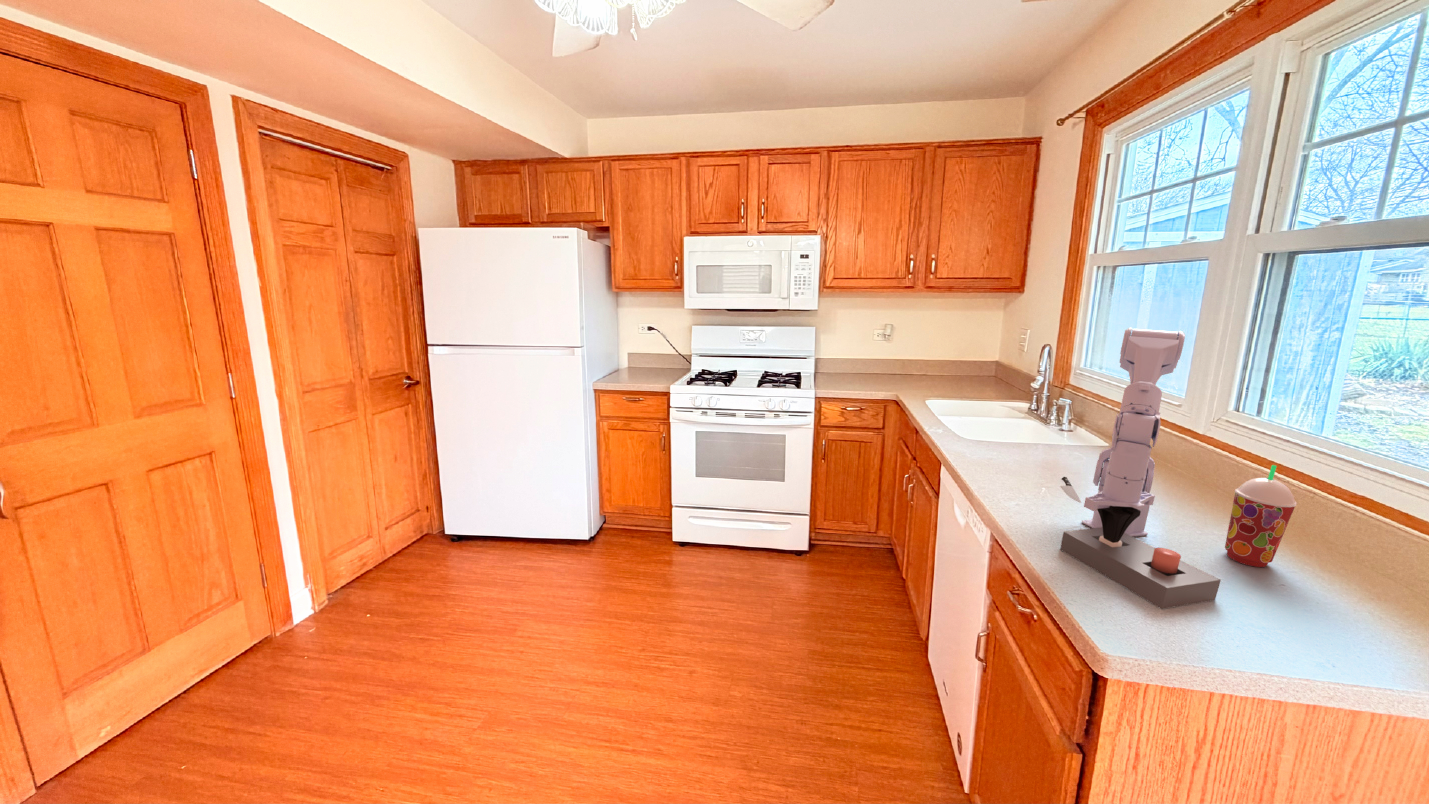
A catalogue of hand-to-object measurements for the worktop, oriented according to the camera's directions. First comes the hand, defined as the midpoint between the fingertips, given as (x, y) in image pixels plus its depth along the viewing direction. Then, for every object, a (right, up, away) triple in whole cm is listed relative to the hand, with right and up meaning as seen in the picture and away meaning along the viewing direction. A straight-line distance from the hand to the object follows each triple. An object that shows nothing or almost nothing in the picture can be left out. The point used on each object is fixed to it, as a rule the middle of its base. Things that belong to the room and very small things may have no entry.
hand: (1110, 540), depth 103 cm
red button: (+2, -2, -9) cm, 10 cm away
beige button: (0, -3, +1) cm, 3 cm away
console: (+1, -5, -4) cm, 6 cm away
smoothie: (+29, -5, +2) cm, 29 cm away
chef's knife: (+15, +3, +35) cm, 38 cm away
